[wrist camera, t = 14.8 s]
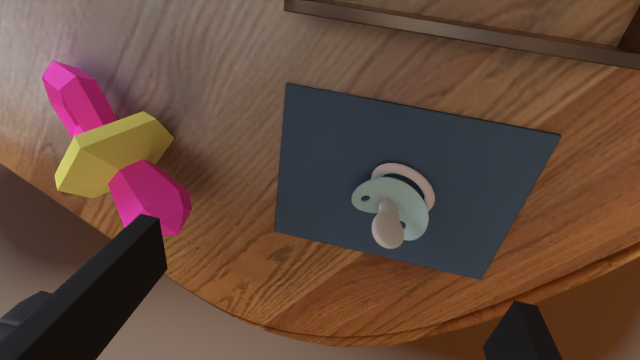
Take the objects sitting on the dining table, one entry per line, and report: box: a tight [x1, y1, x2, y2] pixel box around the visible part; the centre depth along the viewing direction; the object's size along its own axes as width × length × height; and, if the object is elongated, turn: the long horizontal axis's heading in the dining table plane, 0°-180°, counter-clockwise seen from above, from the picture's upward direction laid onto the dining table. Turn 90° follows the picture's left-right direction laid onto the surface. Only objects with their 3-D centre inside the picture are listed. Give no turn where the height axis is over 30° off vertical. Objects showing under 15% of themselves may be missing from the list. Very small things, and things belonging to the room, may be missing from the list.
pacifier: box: [351, 163, 435, 249], centre depth 27 cm, size 7×6×6 cm
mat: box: [274, 83, 561, 280], centre depth 30 cm, size 22×16×1 cm
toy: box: [42, 61, 192, 236], centre depth 29 cm, size 10×18×10 cm, turn 46°
